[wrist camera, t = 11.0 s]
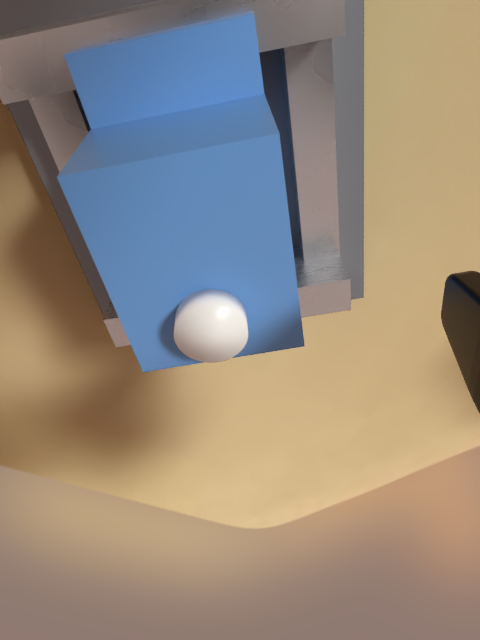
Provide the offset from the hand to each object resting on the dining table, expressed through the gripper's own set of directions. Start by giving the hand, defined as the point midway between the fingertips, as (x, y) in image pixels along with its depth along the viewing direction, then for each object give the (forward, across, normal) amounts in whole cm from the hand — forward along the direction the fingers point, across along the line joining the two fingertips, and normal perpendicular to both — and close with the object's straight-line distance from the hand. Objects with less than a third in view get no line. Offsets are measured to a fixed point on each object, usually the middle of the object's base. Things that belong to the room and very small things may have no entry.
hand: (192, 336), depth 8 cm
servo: (+8, 0, 0) cm, 8 cm away
